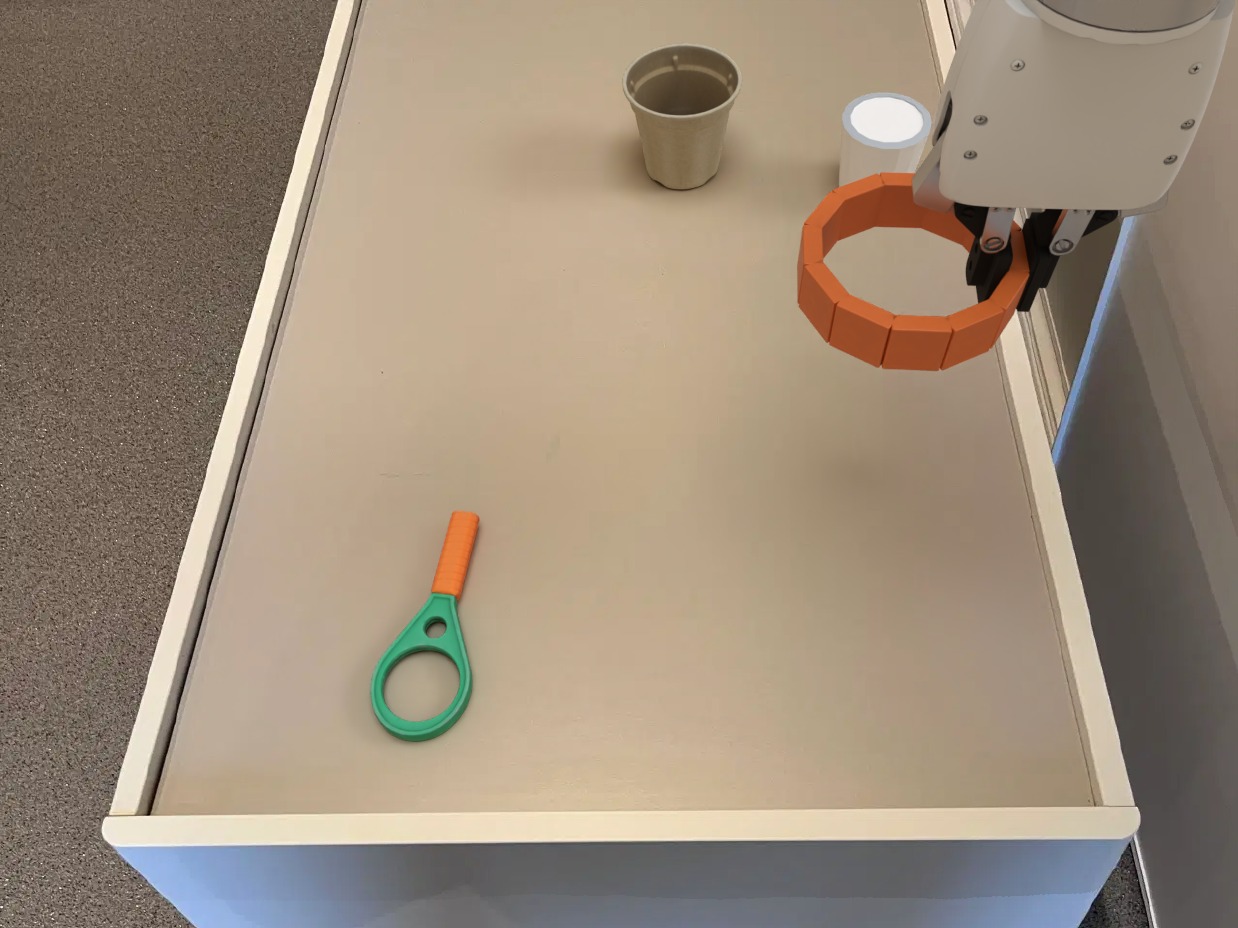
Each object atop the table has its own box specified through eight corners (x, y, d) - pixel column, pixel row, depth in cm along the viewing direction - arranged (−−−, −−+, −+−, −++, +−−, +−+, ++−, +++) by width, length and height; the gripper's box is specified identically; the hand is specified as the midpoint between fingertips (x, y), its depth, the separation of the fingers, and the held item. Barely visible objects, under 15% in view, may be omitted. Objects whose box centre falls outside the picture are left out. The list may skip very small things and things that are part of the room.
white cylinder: (855, 151, 90) (868, 80, 84) (929, 180, 87) (947, 109, 81) (815, 197, 87) (825, 127, 81) (891, 229, 84) (907, 159, 78)
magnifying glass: (458, 748, 62) (453, 739, 61) (360, 735, 63) (353, 725, 61) (512, 528, 70) (509, 515, 69) (425, 518, 71) (420, 505, 70)
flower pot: (607, 152, 91) (601, 65, 84) (702, 117, 93) (704, 29, 86) (659, 218, 86) (657, 132, 79) (758, 179, 88) (765, 92, 81)
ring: (999, 218, 58) (1013, 175, 55) (1024, 375, 51) (1042, 335, 49) (796, 212, 58) (801, 169, 56) (797, 366, 52) (804, 326, 50)
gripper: (1316, -102, 41) (1140, 244, 56) (910, -103, 42) (846, 235, 57) (1376, 13, 37) (1168, 352, 52) (924, 8, 38) (852, 341, 53)
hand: (1000, 289), depth 54 cm, fingers closed on ring, 1 cm apart
